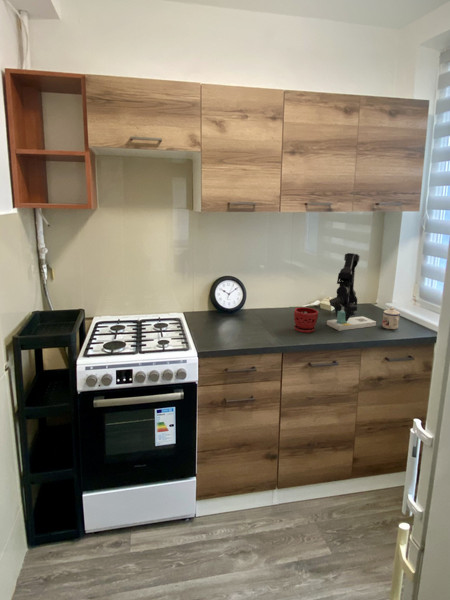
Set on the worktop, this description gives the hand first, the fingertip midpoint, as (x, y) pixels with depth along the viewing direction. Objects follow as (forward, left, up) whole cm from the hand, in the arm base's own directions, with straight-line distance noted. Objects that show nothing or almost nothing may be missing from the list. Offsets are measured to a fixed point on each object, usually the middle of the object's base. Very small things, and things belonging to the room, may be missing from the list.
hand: (342, 319), depth 244 cm
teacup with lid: (+12, +26, -5) cm, 29 cm away
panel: (0, +7, -4) cm, 8 cm away
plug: (0, 0, -4) cm, 4 cm away
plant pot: (-1, -24, -5) cm, 24 cm away
